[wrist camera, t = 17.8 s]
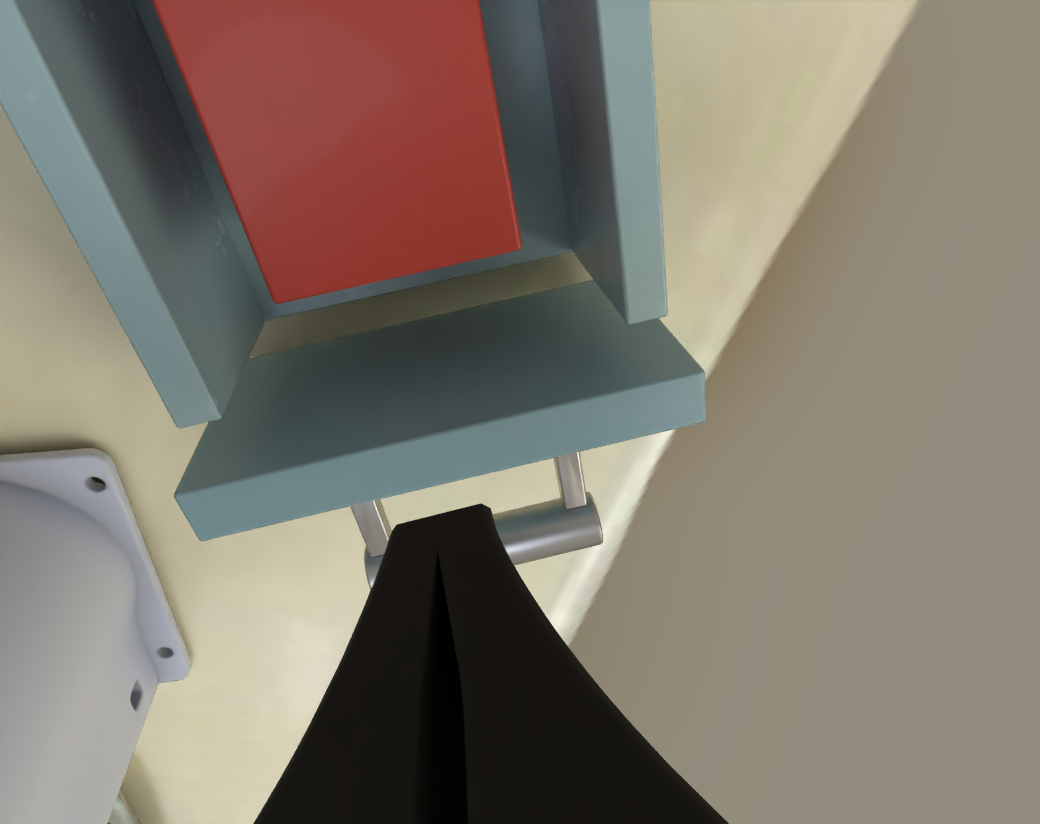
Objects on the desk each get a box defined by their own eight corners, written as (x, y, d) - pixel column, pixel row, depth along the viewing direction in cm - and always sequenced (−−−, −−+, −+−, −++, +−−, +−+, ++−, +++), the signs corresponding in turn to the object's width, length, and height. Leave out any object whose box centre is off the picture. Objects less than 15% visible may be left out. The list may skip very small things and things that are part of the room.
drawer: (637, 452, 20) (711, 585, 16) (314, 528, 20) (287, 691, 15) (568, -257, 12) (685, -449, 7) (4, -150, 11) (-285, -276, 7)
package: (491, 191, 15) (524, 250, 11) (306, 232, 14) (273, 307, 11) (435, -97, 12) (453, -153, 8) (207, -51, 12) (114, -86, 8)
